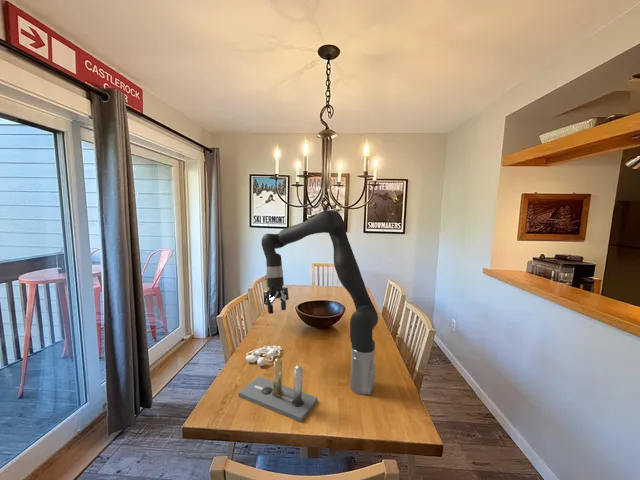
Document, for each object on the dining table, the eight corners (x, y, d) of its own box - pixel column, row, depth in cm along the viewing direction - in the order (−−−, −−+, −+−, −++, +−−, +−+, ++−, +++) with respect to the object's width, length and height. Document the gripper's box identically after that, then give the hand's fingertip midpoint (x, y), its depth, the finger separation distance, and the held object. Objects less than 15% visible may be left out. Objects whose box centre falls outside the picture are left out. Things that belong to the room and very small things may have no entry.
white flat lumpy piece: (266, 346, 151) (266, 339, 151) (289, 351, 144) (288, 343, 143) (240, 362, 134) (239, 354, 134) (263, 369, 127) (263, 360, 127)
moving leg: (284, 393, 108) (284, 357, 107) (279, 398, 105) (279, 361, 104) (275, 390, 110) (275, 355, 108) (270, 394, 107) (270, 359, 106)
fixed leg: (303, 401, 104) (304, 365, 103) (299, 406, 102) (299, 369, 100) (296, 399, 106) (296, 362, 104) (292, 403, 103) (292, 366, 101)
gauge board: (317, 401, 107) (317, 397, 107) (301, 422, 96) (301, 417, 96) (258, 379, 119) (258, 376, 119) (238, 396, 109) (238, 392, 109)
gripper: (270, 277, 123) (272, 315, 122) (291, 274, 135) (293, 309, 134) (258, 278, 127) (260, 314, 126) (279, 275, 139) (281, 308, 138)
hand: (277, 311), depth 130 cm, fingers open, 8 cm apart
